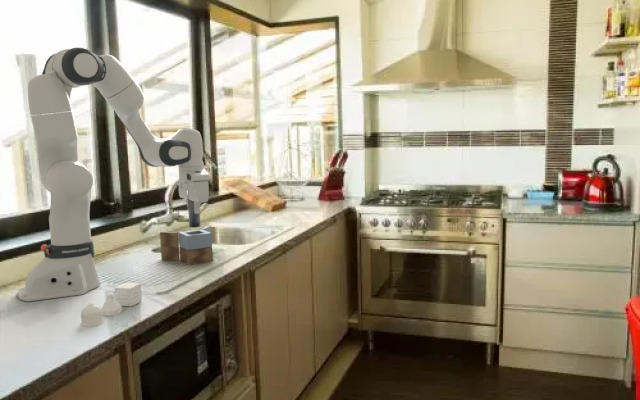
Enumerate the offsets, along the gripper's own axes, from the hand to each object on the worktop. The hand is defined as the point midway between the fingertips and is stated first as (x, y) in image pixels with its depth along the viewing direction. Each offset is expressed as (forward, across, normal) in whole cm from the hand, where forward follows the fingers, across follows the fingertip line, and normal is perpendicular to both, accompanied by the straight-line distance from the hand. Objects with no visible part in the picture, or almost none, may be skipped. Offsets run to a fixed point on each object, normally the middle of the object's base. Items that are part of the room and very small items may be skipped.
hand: (193, 212), depth 187 cm
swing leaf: (+17, -3, +3) cm, 18 cm away
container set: (+18, +39, -38) cm, 58 cm away
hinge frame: (+18, -3, -3) cm, 18 cm away
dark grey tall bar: (+5, 0, 0) cm, 5 cm away
